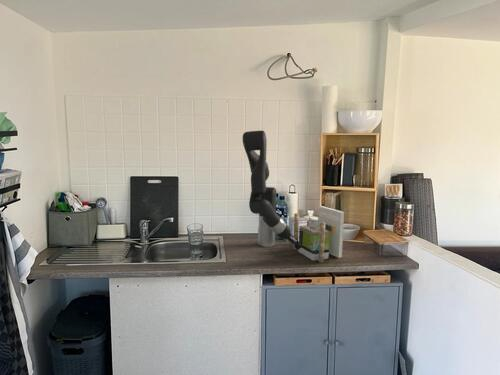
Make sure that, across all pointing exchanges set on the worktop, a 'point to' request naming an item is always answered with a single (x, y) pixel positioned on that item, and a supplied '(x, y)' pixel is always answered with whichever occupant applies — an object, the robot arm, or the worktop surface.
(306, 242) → the tea box
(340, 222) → the breaker panel
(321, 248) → the right post
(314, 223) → the skincare box
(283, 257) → the worktop surface
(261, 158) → the robot arm
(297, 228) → the left post
